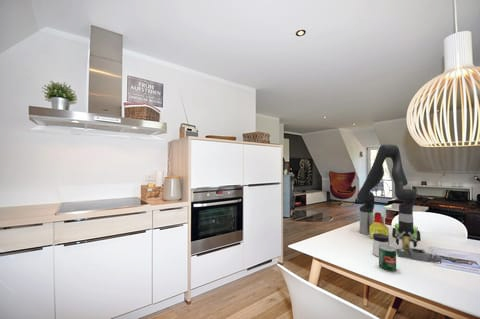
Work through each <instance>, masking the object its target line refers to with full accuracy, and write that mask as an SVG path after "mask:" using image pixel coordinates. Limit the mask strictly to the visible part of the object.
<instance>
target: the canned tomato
mask: <svg viewBox="0 0 480 319" xmlns="http://www.w3.org/2000/svg"><path fill="white" fill-rule="evenodd" d="M396 249H397V248H395V247H393V246H391V245H389V246H387V245H380V246H379V257H378V268H379V269H380V270H383V271H386V272H392V273H394V272H396V271H397V253H396Z"/></svg>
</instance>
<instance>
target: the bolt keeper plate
mask: <svg viewBox="0 0 480 319" xmlns="http://www.w3.org/2000/svg"><path fill="white" fill-rule="evenodd" d="M395 249H396V256H398V257H399V258H405V259H410V260H414V261H419V262H426V263H429V262H430V263H435V262H440V263H439V264H441V263H442V262H443V261H442V258H441V257H440V256H439V255H438V254H437V253H429V252H426V251H425V249H421V248H416V247H410V248H408V250H403V249H402V248H401V249H400V248H395Z"/></svg>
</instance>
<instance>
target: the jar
mask: <svg viewBox="0 0 480 319" xmlns="http://www.w3.org/2000/svg"><path fill="white" fill-rule="evenodd" d="M389 238H390V237H388V236H387V235H384V234H373V238H372V255H373V256H375V257H377V258H379V246H380V245H387V246H390V239H389Z"/></svg>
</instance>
